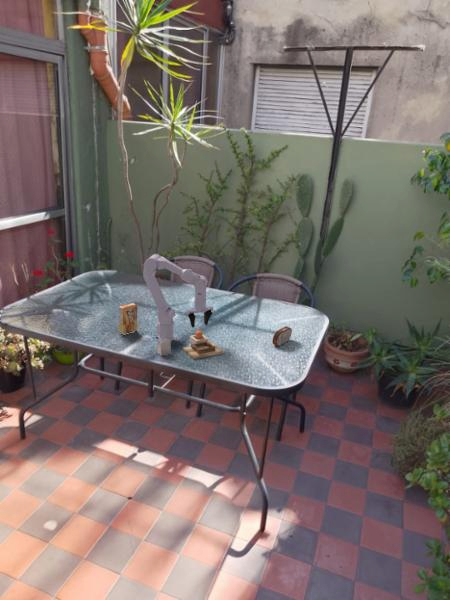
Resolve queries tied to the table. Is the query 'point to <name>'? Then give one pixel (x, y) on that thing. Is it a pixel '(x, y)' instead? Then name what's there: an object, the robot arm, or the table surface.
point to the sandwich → (282, 336)
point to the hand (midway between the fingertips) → (199, 325)
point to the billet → (164, 346)
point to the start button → (198, 334)
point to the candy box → (128, 318)
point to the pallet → (202, 350)
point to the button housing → (193, 340)
